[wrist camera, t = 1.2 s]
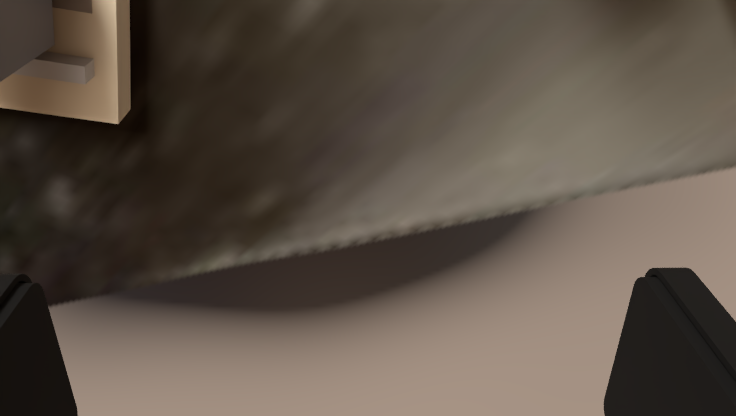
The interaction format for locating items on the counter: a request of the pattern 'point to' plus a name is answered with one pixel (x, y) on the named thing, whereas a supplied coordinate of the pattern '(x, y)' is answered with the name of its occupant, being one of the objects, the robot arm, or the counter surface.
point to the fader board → (78, 65)
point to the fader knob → (24, 33)
